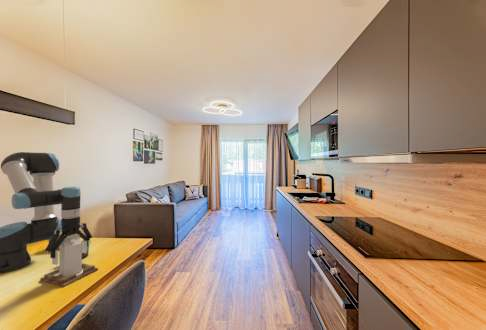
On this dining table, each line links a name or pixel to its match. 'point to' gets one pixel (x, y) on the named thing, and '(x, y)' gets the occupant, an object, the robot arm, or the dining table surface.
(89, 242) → the food container
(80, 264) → the milk carton
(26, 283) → the dining table surface
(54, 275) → the brown picture frame
